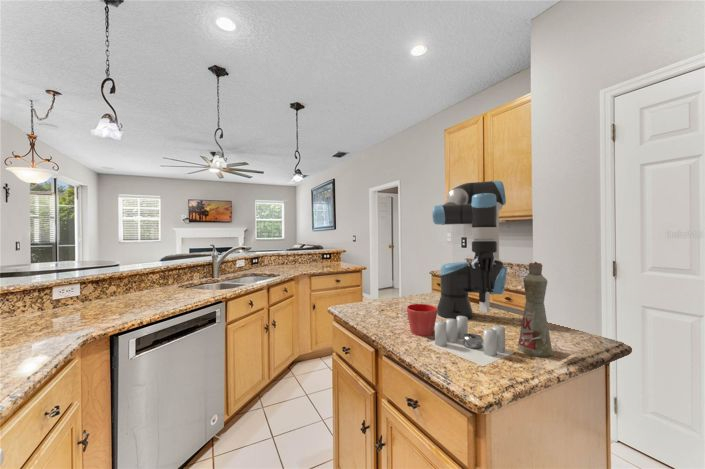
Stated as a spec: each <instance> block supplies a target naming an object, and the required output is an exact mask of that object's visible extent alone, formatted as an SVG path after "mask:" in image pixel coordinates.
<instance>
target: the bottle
mask: <svg viewBox="0 0 705 469" xmlns="http://www.w3.org/2000/svg"><path fill="white" fill-rule="evenodd" d="M528 267H529V268H528V274H526V275H525V276H524V277H523V280H522V281H523V287H524V294H525V300H526V301H525V303H524V308H523V314H522V315H523V316H522V319H521V320H522V321H521V327H520V332H519V339H518V343H517V348H518V350H519V351H520V352H522V353H523V354H526V355H527V356H528V355H529V356H532V357H537V358H548V357H551V356H552V355H553V354H554V352H553V347H552V346H553V345H552V342H551V337H550V331H549V325H548V320H547V319H548V318H547V314H546V308H545V303H544V302H545V297H546V293H547V292H546V291H547V286H548V279H547V278H546V277H545V276H544V275H543V274H542V271H543V264H542V263H540V262H537V261H534V262H529V263H528Z"/></svg>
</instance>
